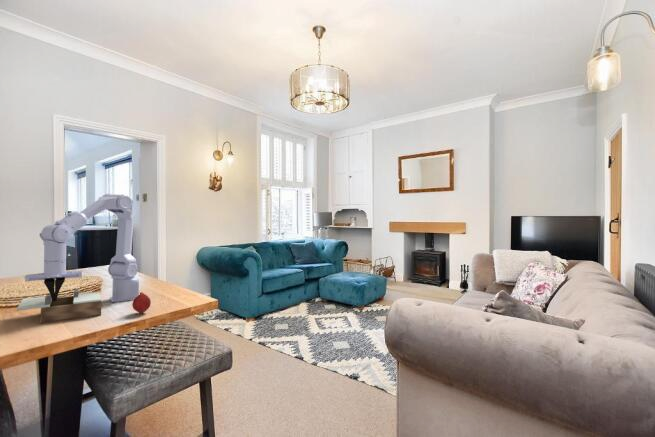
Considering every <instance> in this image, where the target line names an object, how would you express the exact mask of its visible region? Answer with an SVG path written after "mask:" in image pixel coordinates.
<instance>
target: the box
mask: <svg viewBox="0 0 655 437" xmlns="http://www.w3.org/2000/svg"><path fill="white" fill-rule="evenodd" d="M73 301H74V295H70V296H69V295H68V296H58V297H57V301H51V304H50V307H45V308H40V324H48V323H49V324H50V323H56V322H62V321H63V322H65V321H70V320H71V321H72V320H76V319H77V320H78V319H85V318H93V317H99V316H100V317H101V316H102V300H101V301H97V302H88V303H79V304H73Z"/></svg>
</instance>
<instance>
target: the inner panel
mask: <svg viewBox="0 0 655 437" xmlns="http://www.w3.org/2000/svg"><path fill="white" fill-rule="evenodd" d="M73 296H74V301H73V304H79V303H88V302H97V301H101V302H102V294H101V291H99V290H98V291H88V292H79V288H74V291H73Z"/></svg>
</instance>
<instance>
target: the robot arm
mask: <svg viewBox="0 0 655 437" xmlns="http://www.w3.org/2000/svg"><path fill="white" fill-rule="evenodd" d="M97 198H98V199H96V201H94V202H93V203H92V204H90V205H88V206H87V207H86V208H84V209H83V210H81V211H80V212H78V211H73V212H72V211H71V212H68V213H67V215H66V216H65V217H63V218H62V219H59V220H55V221H54V224H49V225H46V226H44V227H43V228H42V230H41V232H40V233H39V238H40V239H41V240H42V241H43V246H44V247H43V272H40V273H32V274H30V273H29V274H25V276H24V282H32V281H33V282H34V281H43V284H44V285H45V286H46V288H47V290H48V292H49V295H51V299H52V301H57V298H58V297H59V293H60V291H61V289H62V286H63V284H64V282H66V281H65V280H66V279H71V278H73V279H74V278H79V279H80V278H82V277H83V271H82V270H80V271H79V270H78V271H77V270H76V271H74V270H72V271H67V242H68V241H69V240H70V239H72V238H71V237H72V235H73V234H74V233H76V232H77V231H79V230H80V229H81V228H83V227H84V226H86V225H87V224H88V220H89V219H91V218H93V217H94V216H96V215H98V214H101V212H103V211H105V210H106V211H108V212H111V213H113V214H114V215H115V216H116V218H118V219H117V233H116V234H117V235H116V246H115V247H116V248H115V255H114V256H113V257H112V258H110V262H109V265H108V268H107V271H108V274H109V275H110V278H111V279H112V292H111V294H112V295H111V296H110V301H111V303H116V302H125V301H134V299H135V298H136V297H137V296H138V295H140V280H139V276H136V275H137V274H138V270H139V268H138V267H139V266H138V264H137V259H136V258H135V256H133V255H132V251H133V250H132V249H133V248H132V247H133V234H134V221H135V220H134V219H135V212H134V209H133V207H134V200H133V199H132V197H131V196H129V195H128V194H126V193H125V194H113V193H105V194H103V195H101V196H99V197H97Z"/></svg>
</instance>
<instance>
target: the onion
mask: <svg viewBox="0 0 655 437" xmlns="http://www.w3.org/2000/svg"><path fill="white" fill-rule="evenodd" d="M151 304H152V302H151V298H150V297H149V296H148V295H147V294H145V293H144V292H143V291H139V295H138V296H137V297H136V298H135V299H134V300H132V304H131V306H132V309H133V310H134V311H136V312H137V313H138V314H141V315H142V314H145V312H147V311H148V310H149V308H150V307H151Z"/></svg>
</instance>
